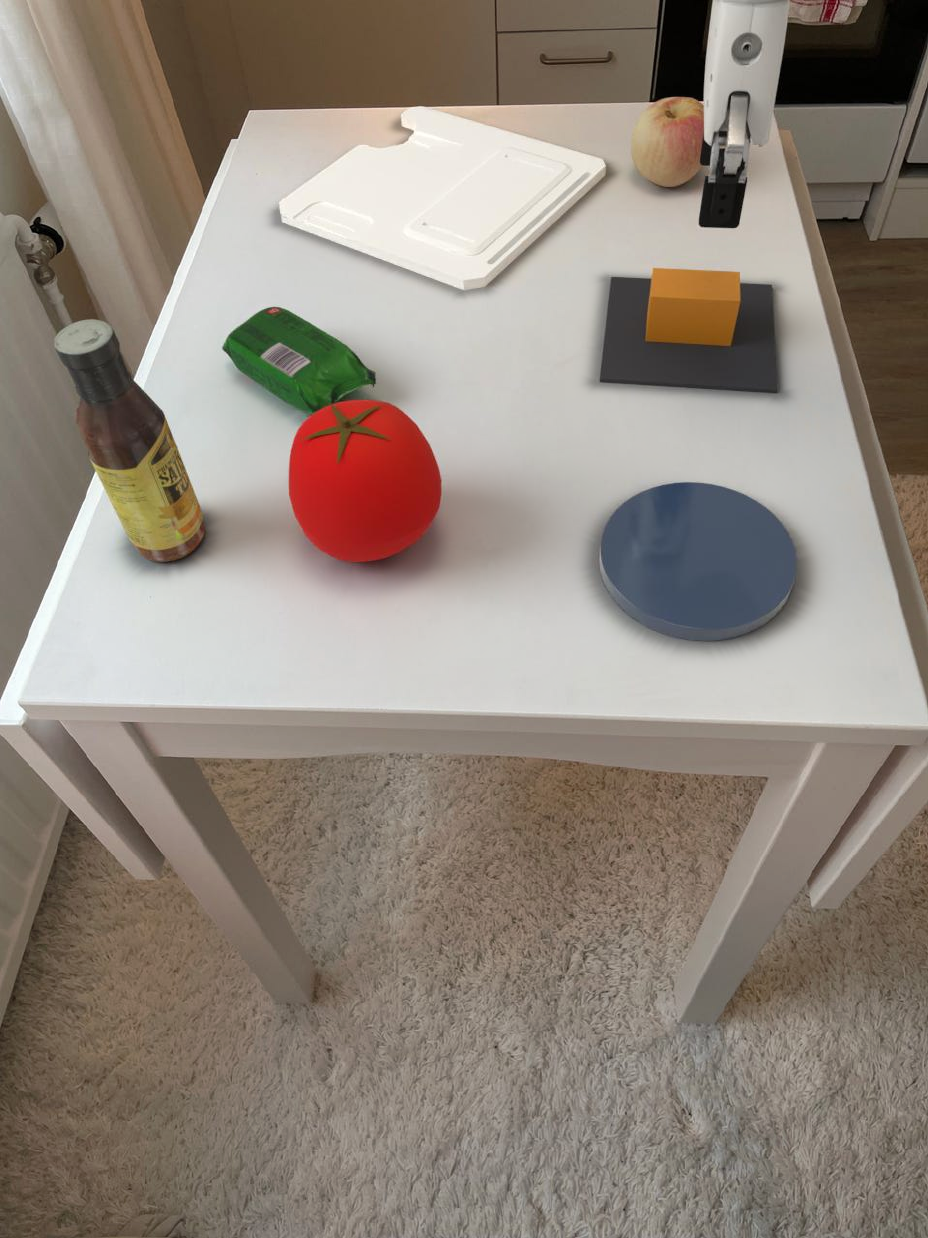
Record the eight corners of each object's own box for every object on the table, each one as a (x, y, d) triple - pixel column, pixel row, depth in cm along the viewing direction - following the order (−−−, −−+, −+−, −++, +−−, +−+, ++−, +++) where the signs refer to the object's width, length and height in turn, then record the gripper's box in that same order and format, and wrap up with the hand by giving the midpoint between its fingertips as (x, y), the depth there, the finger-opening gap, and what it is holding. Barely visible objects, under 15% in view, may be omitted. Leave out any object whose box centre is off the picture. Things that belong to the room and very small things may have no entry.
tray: (271, 218, 108) (269, 205, 107) (417, 111, 121) (416, 99, 120) (476, 294, 98) (475, 281, 96) (611, 169, 111) (612, 156, 109)
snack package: (327, 441, 86) (317, 396, 82) (220, 367, 92) (206, 322, 88) (384, 401, 89) (378, 356, 84) (276, 333, 95) (266, 287, 91)
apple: (704, 158, 111) (715, 86, 104) (706, 200, 106) (718, 127, 99) (629, 157, 112) (635, 85, 106) (626, 198, 107) (633, 126, 100)
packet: (730, 316, 93) (739, 271, 89) (730, 346, 90) (740, 300, 86) (647, 312, 94) (652, 267, 90) (645, 341, 91) (650, 296, 87)
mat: (771, 287, 96) (771, 284, 95) (776, 393, 87) (777, 389, 86) (611, 279, 98) (611, 276, 98) (599, 381, 89) (599, 378, 88)
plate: (788, 501, 79) (792, 489, 77) (797, 650, 70) (802, 639, 69) (605, 487, 81) (607, 475, 79) (592, 630, 72) (593, 619, 71)
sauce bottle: (209, 559, 78) (128, 363, 62) (132, 571, 78) (31, 377, 62) (208, 502, 82) (132, 303, 66) (135, 513, 82) (40, 316, 66)
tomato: (271, 542, 79) (235, 427, 69) (369, 463, 84) (349, 345, 74) (379, 617, 74) (356, 505, 64) (476, 528, 79) (470, 411, 68)
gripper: (819, 10, 61) (767, 253, 74) (804, -86, 71) (761, 143, 85) (699, 10, 62) (669, 250, 76) (701, -85, 72) (675, 142, 86)
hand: (718, 193), depth 80 cm, fingers open, 9 cm apart
